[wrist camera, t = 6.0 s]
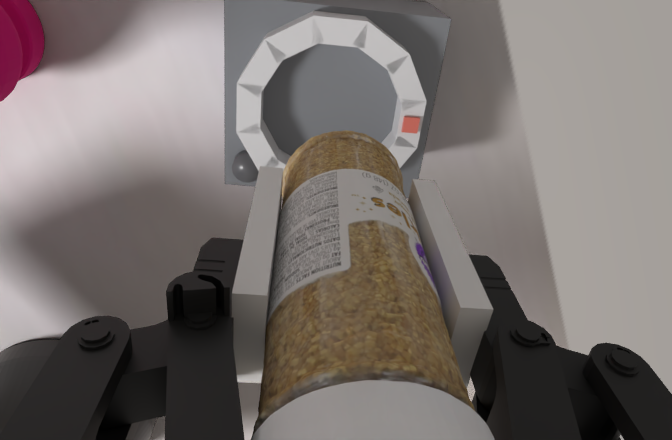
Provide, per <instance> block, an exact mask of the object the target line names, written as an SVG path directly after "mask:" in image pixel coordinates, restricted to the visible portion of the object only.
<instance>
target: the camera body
mask: <svg viewBox="0 0 672 440" xmlns="http://www.w3.org/2000/svg"><path fill="white" fill-rule="evenodd" d="M450 24H451V18H449V17H448V16H447V15H445V14H444V13H442V12H441V11H439V10H438V9H437V8H435V7H434V6H432V5H431V4H429V3H428V2H421V1H412V0H224V46H225V184H231V185H244V186H256V182H257V177H258V173H259V168H260V166H264V167H276V168H283V171H284V168H285V166H286V164H287V162H288V160H289V158H290V157H291V156H292V155H293V153H294V152H295V151H296V150H297V149H298V148H299V147H300V146H301V145H303V144H304V143H305V142H306V141H308V140H309V139H310V138H312V137H314V136H318V135H321V134H323V133H329V132H333V131H346V130H347V131H354V132H358V133H363V134H366V135H368V136H370V137H372V138H374V139H375V140H377V141H378V142H380V143H382V144H383V145H384V146H386V148H387V149H388V150H389V151H390V152H391V153H392V155H393V156H394V157H395V158H396V160H397V163H398V166H399V168H400V170H401V173H402V178H403V191H404V194H405V197H406V198H409V194H410V189H411V184H412V179H418V178H419V173H420V168H421V163H422V159H423V154H424V149H425V144H426V139H427V134H428V130H429V125H430V120H431V115H432V110H433V106H434V101H435V96H436V91H437V86H438V81H439V77H440V72H441V67H442V62H443V57H444V53H445V48H446V43H447V38H448V33H449V28H450Z"/></svg>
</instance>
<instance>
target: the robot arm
mask: <svg viewBox="0 0 672 440" xmlns="http://www.w3.org/2000/svg"><path fill="white" fill-rule="evenodd" d="M282 181H283V168H276V167H264V166H260V168H259V173H258V177H257V182H256V187H255V191H254V196H253V200H252V205H251V209H250V214H249V218H248V223H247V227H246V232H245V236H244V240H238V239H223V238H211V239H210V240H209V241H208V242H207V243H206V244H204V245H203V246H202V247H201V249H200V252H199V255H198V258H197V261H196V264H195V267H194V271H193V272H190V273H185V274H183V275H181V276H179V277H176V278H175V279H174V280H173V281H172V282H171V283H170V284H169V285H168V288H167V291H166V296H167V309H168V320H166V321H164V322H162V323H159V324H157V325H153V326H149V327H144V328H138V329H132V330H130V329H129V327H128V325H127V323H125V322H124V321H122V320H121V319H119V318H116V317H111V316H95V317H92V318H88V319H85V320H82V321H80V322H78V323H77V324H75V325H73V326H71V327H70V328H69V329H68V330H67V332H66V333H65V334H64V335H63V336H62V338H61V339H60V340H36V341H30V342H25V343H21V344H17V345H15V346H12V347H10V348H7V349H5V350H4V351H2V352H0V440H150V437H151V434H152V431H153V428H154V425H155V421H156V418H157V417H162V416H166V420H165V440H244V432H243V424H242V415H241V407H240V398H239V390H238V382H244V383H261V380H262V373H263V368H264V362H263V361H264V351H265V334H266V322H267V313H268V305H269V297H270V288H271V280H272V272H273V264H274V256H275V247H276V239H277V230H278V222H279V216H280V213H281V197H282ZM408 204H409V206H410V208H411V210H412V213H413V216H414V219H415V223H416V226H417V229H418V232H419V236H420V239H421V243H422V246H423V249H424V252H425V256H426V259H427V262H428V265H429V269H430V271H431V274H432V277H433V280H434V283H435V287H436V290H437V293H438V295H439V298H440V301H441V306H442V315H443V318H444V321H445V325H446V328H447V330H448V333H449V337H450V340H451V343H452V346H453V350H454V352H455V355H456V359H457V362H458V365H459V369H460V373H461V376H462V379H463V383H464V384H465V386H466V388H467V386H468V383H469V380H470V377H471V379H472V382H473V385H474V388H475V394H474V397H473V400H472V404H473V406H474V409H475V412H476V413H477V414H478V415H479V416H480V417H481V418H482V419H483V420H484V421H485V423H486V424H487V425H488V427H489V429H490V431H491V433H492V435H493V436H494V439H495V440H621V439H620V437H619V436H620V435H622V437H623V438H624V440H672V394H671V393H670V392H669V391H668V389H667V388H666V386H665V385H664V384H663V382H662V381H661V380H660V379H659V377H658V376H657V375H656V374H655V372H654V371H653V370H652V368H651V367H650V366H649V365H648V364H647V363H646V362H645V361H644V360H643V359H642V358H641V357H640V356H639V355H637V354H636V353H634V352H633V351H631V350H629V349H627V348H625V347H622V346H620V345H616V344H610V343H601V344H597V345H596V346H594V347H593V348H592V349H591V351H590V353H589V355H585V354H581V353H578V352H574V351H571V350H567V349H564V348H561V347H558V346H556V345H555V342H554V340H553V338H552V336H551V335H550V334H549V333H548V332H547V331H546V330H545V329H544V328H542V327H541V326H539V325H537V324H535V323H534V322H531V321H528V320H527V318H526V316H525V314H524V312H523V310H522V308H521V307H520V305H519V303H518V301H517V299H516V297H515V295H514V293H513V291H512V290H511V288H510V286H509V284H508V282H507V281H506V280H505V279H506V278H505V276H504V274H503V273H502V271H501V269H500V267H499V266H498V265H497V264H496V263H495V262H493V261H492V260H491V259H490V258H489V257H488V256H480V255H468V253H467V250H466V248H465V246H464V244H463V242H462V239H461V237H460V235H459V233H458V231H457V229H456V226H455V224H454V222H453V220H452V218H451V215H450V213H449V211H448V209H447V207H446V204H445V202H444V200H443V198H442V196H441V193H440V191H439V189H438V187H437V185H436V182H435V181H432V180H420V179H412V184H411V189H410V194H409V199H408Z"/></svg>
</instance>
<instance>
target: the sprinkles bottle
mask: <svg viewBox="0 0 672 440" xmlns="http://www.w3.org/2000/svg"><path fill="white" fill-rule="evenodd" d="M282 197H283V204H282V210H281V213H280V216H279V222H278V230H277V239H276V247H275V256H274V264H273V272H272V280H271V288H270V297H269V305H268V313H267V322H266V334H265V351H264V361H263V362H264V368H263V373H262V380H261V394H260V401H259V408H258V412H259V416H258V418H257V420H256V423H255V426H254V431H253V435H252V438H251V440H495V439H494V436H493V435H492V433H491V431H490V429H489V427H488V425H487V424H486V423H485V421H484V420H483V419H482V418H481V417H480V416H479V415H478V414H477V413H476V412H475V409H474V406H473V404H472V402H471V401H470V399H469V397H468V392H467V388H466V386H465V384H464V383H463V379H462V376H461V373H460V369H459V365H458V362H457V359H456V355H455V352H454V350H453V346H452V343H451V340H450V337H449V333H448V330H447V328H446V325H445V321H444V318H443V315H442V306H441V301H440V298H439V295H438V293H437V290H436V287H435V283H434V280H433V277H432V274H431V271H430V269H429V265H428V262H427V259H426V256H425V252H424V249H423V246H422V243H421V239H420V236H419V232H418V229H417V226H416V223H415V219H414V216H413V213H412V210H411V208H410V206H409V204H408V202H407V200H406V197H405V194H404V191H403V178H402V173H401V170H400V168H399V166H398V163H397V160H396V158H395V157H394V156H393V155H392V153H391V152H390V151H389V150H388V149H387V148H386V146H384V145H383V144H382V143H380V142H378V141H377V140H375V139H374V138H372V137H370V136H368V135H366V134H363V133H358V132H354V131H347V130H346V131H333V132H329V133H323V134H321V135H318V136H314V137H312V138H310V139H309V140H308V141H306V142H305V143H304V144H303V145H301V146H300V147H299V148H298V149H297V150H296V151H295V152H294V153H293V155H292V156H291V157H290V158H289V160H288V162H287V164H286V166H285V168H284V171H283V181H282Z"/></svg>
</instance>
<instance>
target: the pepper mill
mask: <svg viewBox="0 0 672 440" xmlns="http://www.w3.org/2000/svg"><path fill="white" fill-rule="evenodd" d="M43 51H44V34H43V29H42V25H41V22H40V20H39V17H38V15H37V13H36V12H35V10H34V8H33V7H32V5H31V4H30V3H29V1H28V0H0V102H1V101H2V100H4V99H5V98H6V97H7V96H8V95H9V94H10V93H11V92H12V91H13V90H14V88H15V86H16V84H17V82H18V81H19V80H21V79H23V78H25V77H26V76H28V75H29V74H31V73H32V72H33V71H34V70H35V69H36V68H37V66H38V65H39V63H40V61H41V58H42V56H43Z"/></svg>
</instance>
